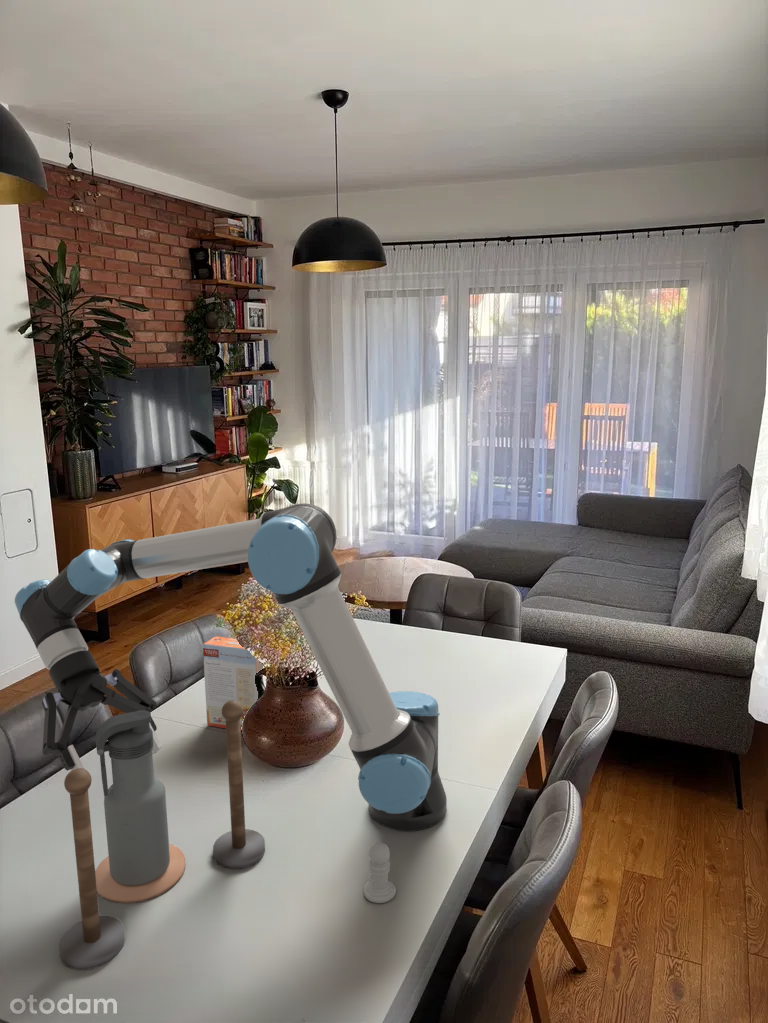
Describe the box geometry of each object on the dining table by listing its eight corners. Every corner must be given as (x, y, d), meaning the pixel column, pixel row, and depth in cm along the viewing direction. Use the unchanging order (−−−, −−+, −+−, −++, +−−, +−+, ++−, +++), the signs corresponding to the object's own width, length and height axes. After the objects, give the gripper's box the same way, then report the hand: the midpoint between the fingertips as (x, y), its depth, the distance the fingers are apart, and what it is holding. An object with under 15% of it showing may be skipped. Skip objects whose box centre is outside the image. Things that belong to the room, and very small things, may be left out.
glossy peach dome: (203, 857, 133) (203, 854, 133) (144, 913, 119) (143, 910, 119) (137, 836, 139) (136, 833, 139) (73, 887, 125) (73, 884, 125)
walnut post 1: (137, 934, 115) (124, 761, 109) (93, 977, 107) (76, 793, 101) (92, 917, 119) (77, 748, 113) (46, 957, 111) (27, 778, 105)
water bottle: (110, 896, 122) (96, 737, 117) (105, 860, 131) (92, 710, 126) (174, 878, 126) (164, 724, 121) (165, 845, 135) (155, 699, 130)
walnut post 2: (274, 844, 136) (268, 695, 131) (246, 874, 128) (238, 717, 123) (233, 831, 140) (225, 686, 134) (202, 860, 132) (193, 707, 126)
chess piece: (400, 901, 122) (400, 851, 120) (368, 907, 120) (367, 857, 119) (390, 879, 127) (390, 831, 125) (359, 885, 125) (359, 837, 124)
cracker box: (270, 723, 181) (267, 641, 177) (258, 735, 176) (255, 650, 172) (219, 714, 186) (215, 634, 182) (206, 726, 180) (201, 643, 176)
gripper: (124, 650, 145) (176, 746, 139) (-9, 694, 126) (44, 809, 120) (138, 630, 140) (193, 729, 134) (2, 673, 122) (58, 790, 115)
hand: (123, 767), depth 127 cm, fingers open, 13 cm apart
